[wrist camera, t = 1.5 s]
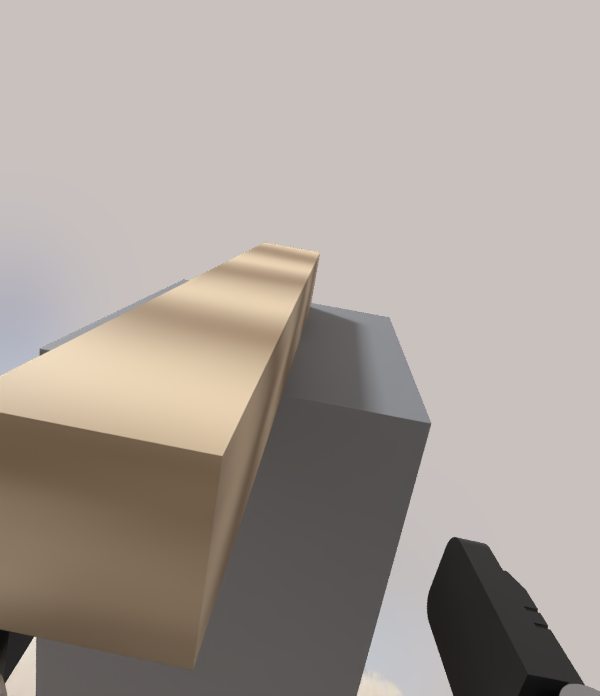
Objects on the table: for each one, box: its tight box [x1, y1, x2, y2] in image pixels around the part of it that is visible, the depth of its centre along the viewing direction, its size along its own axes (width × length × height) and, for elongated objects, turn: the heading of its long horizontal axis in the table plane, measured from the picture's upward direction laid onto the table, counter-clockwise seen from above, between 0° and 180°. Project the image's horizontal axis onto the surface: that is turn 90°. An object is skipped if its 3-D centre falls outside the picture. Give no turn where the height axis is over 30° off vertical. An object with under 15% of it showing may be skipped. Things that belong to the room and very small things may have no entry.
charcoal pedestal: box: [36, 280, 431, 696], centre depth 26 cm, size 15×13×32 cm
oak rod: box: [0, 243, 320, 670], centre depth 16 cm, size 22×3×3 cm, turn 175°
